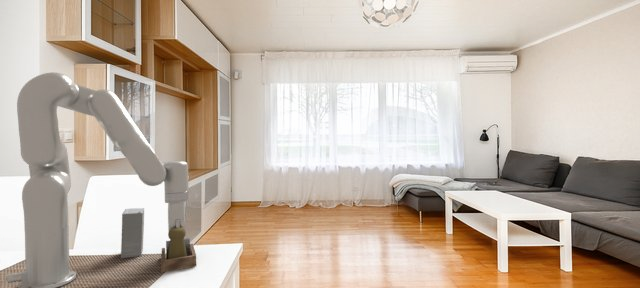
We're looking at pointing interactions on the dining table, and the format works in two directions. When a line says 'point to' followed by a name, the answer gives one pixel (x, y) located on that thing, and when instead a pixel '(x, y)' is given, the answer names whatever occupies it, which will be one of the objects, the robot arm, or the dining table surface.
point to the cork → (177, 243)
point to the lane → (178, 261)
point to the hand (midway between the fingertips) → (177, 250)
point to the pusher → (187, 246)
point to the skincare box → (132, 232)
